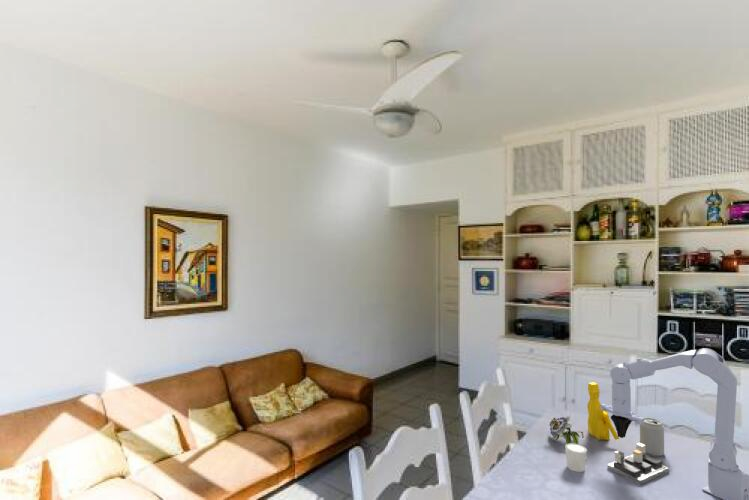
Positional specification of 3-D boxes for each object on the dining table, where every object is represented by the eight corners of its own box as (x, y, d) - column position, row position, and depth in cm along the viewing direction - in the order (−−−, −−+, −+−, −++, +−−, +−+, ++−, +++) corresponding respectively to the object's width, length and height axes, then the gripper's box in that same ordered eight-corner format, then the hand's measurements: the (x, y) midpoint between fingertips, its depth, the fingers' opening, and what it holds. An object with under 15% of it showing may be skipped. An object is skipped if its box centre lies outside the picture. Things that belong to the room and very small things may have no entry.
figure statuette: (623, 447, 155) (623, 390, 155) (604, 448, 154) (604, 391, 154) (593, 426, 173) (593, 375, 173) (576, 428, 172) (575, 376, 172)
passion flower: (554, 453, 162) (542, 422, 168) (581, 448, 162) (567, 417, 168) (562, 449, 152) (549, 416, 159) (590, 443, 152) (576, 410, 159)
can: (668, 458, 146) (668, 425, 146) (645, 456, 148) (645, 424, 148) (658, 448, 154) (658, 417, 154) (636, 446, 155) (636, 415, 155)
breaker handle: (642, 461, 138) (642, 452, 138) (639, 463, 138) (638, 453, 138) (636, 458, 140) (636, 449, 140) (632, 460, 139) (632, 450, 139)
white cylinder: (575, 474, 137) (575, 453, 137) (560, 464, 144) (560, 444, 144) (591, 471, 139) (591, 450, 139) (576, 461, 146) (576, 441, 146)
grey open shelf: (668, 472, 137) (668, 453, 137) (640, 485, 131) (639, 465, 130) (635, 457, 147) (635, 439, 147) (607, 468, 140) (607, 450, 140)
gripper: (595, 394, 149) (595, 430, 149) (635, 408, 136) (635, 448, 136) (607, 390, 152) (607, 426, 152) (647, 404, 139) (648, 443, 139)
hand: (621, 436), depth 144 cm, fingers closed
